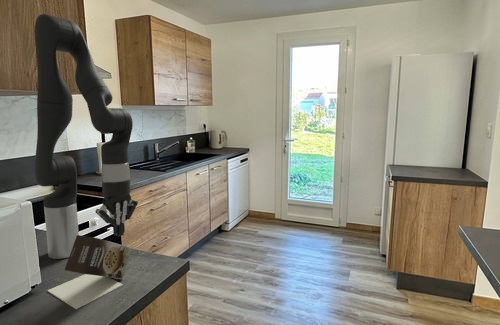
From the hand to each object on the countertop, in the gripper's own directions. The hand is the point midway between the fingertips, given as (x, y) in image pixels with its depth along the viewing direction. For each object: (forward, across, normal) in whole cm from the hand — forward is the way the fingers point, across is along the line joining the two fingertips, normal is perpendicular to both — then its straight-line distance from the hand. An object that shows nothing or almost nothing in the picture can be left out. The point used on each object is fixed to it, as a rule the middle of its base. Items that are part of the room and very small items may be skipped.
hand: (119, 235), depth 92 cm
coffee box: (+8, +1, +1) cm, 8 cm away
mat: (+12, +11, 0) cm, 16 cm away
